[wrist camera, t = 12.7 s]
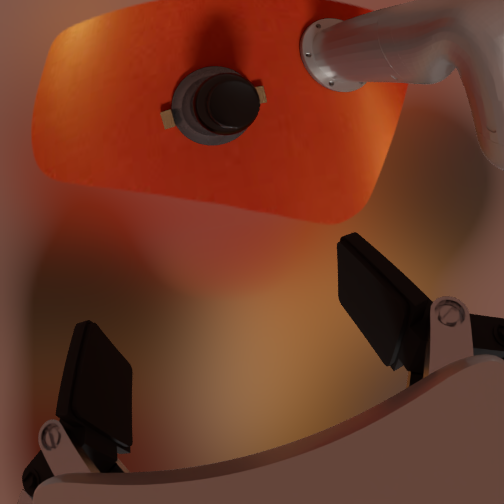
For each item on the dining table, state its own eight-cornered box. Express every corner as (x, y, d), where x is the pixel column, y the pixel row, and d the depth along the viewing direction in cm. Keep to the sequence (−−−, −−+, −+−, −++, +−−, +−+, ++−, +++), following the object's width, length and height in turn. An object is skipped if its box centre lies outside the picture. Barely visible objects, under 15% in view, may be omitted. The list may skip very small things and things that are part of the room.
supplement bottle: (187, 128, 32) (190, 137, 22) (192, 78, 28) (198, 63, 18) (239, 131, 33) (266, 142, 23) (245, 82, 30) (275, 72, 20)
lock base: (253, 58, 30) (256, 57, 28) (270, 130, 35) (273, 131, 34) (152, 83, 28) (151, 83, 27) (174, 157, 34) (174, 159, 33)
